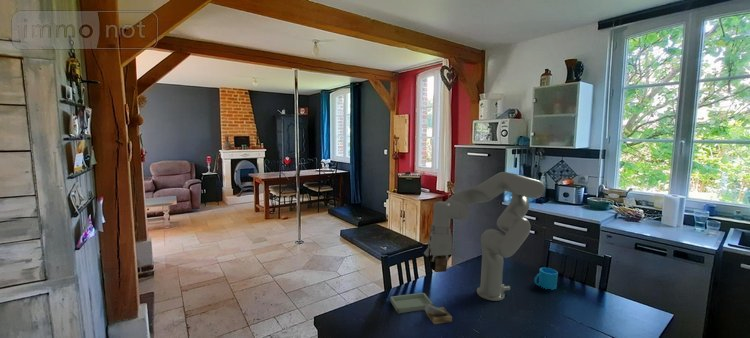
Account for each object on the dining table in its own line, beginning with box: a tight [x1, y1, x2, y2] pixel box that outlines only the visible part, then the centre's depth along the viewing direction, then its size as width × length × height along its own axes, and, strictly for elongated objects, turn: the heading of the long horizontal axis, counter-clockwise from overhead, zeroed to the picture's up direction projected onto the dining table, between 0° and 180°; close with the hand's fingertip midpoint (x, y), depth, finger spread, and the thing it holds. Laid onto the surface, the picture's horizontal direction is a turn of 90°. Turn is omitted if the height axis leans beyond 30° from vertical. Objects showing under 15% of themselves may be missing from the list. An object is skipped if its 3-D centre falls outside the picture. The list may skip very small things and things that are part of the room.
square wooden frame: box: [425, 306, 453, 325], centre depth 132 cm, size 8×8×2 cm
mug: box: [534, 267, 559, 291], centre depth 161 cm, size 12×8×8 cm
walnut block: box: [433, 256, 448, 273], centre depth 143 cm, size 5×5×6 cm
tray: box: [389, 292, 435, 314], centre depth 142 cm, size 17×11×2 cm, turn 105°
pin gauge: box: [424, 304, 446, 317], centre depth 132 cm, size 3×3×8 cm
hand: (438, 268), depth 143 cm, fingers closed on walnut block, 5 cm apart
